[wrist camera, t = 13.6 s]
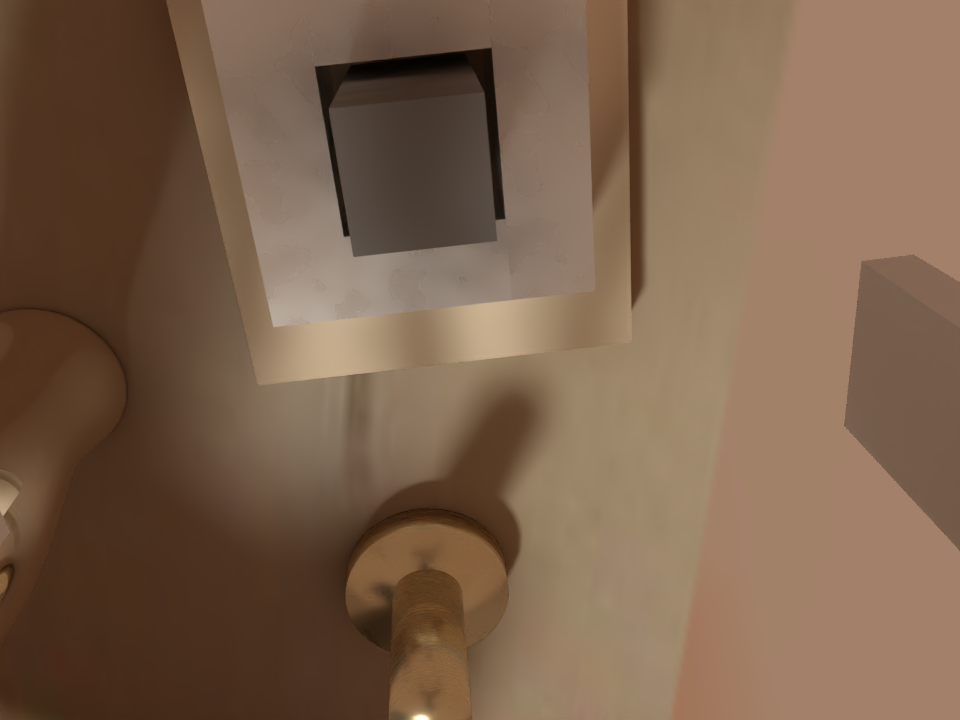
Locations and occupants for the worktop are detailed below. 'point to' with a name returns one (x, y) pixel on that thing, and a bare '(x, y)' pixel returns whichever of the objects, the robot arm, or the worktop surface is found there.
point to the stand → (427, 605)
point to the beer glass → (46, 433)
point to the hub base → (438, 322)
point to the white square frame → (314, 168)
